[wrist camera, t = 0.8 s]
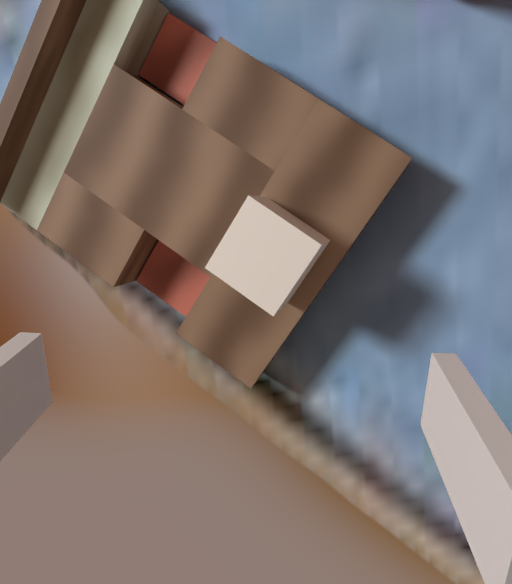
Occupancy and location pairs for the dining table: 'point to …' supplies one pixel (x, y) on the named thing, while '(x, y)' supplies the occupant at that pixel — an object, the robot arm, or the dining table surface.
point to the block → (266, 253)
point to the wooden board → (178, 163)
